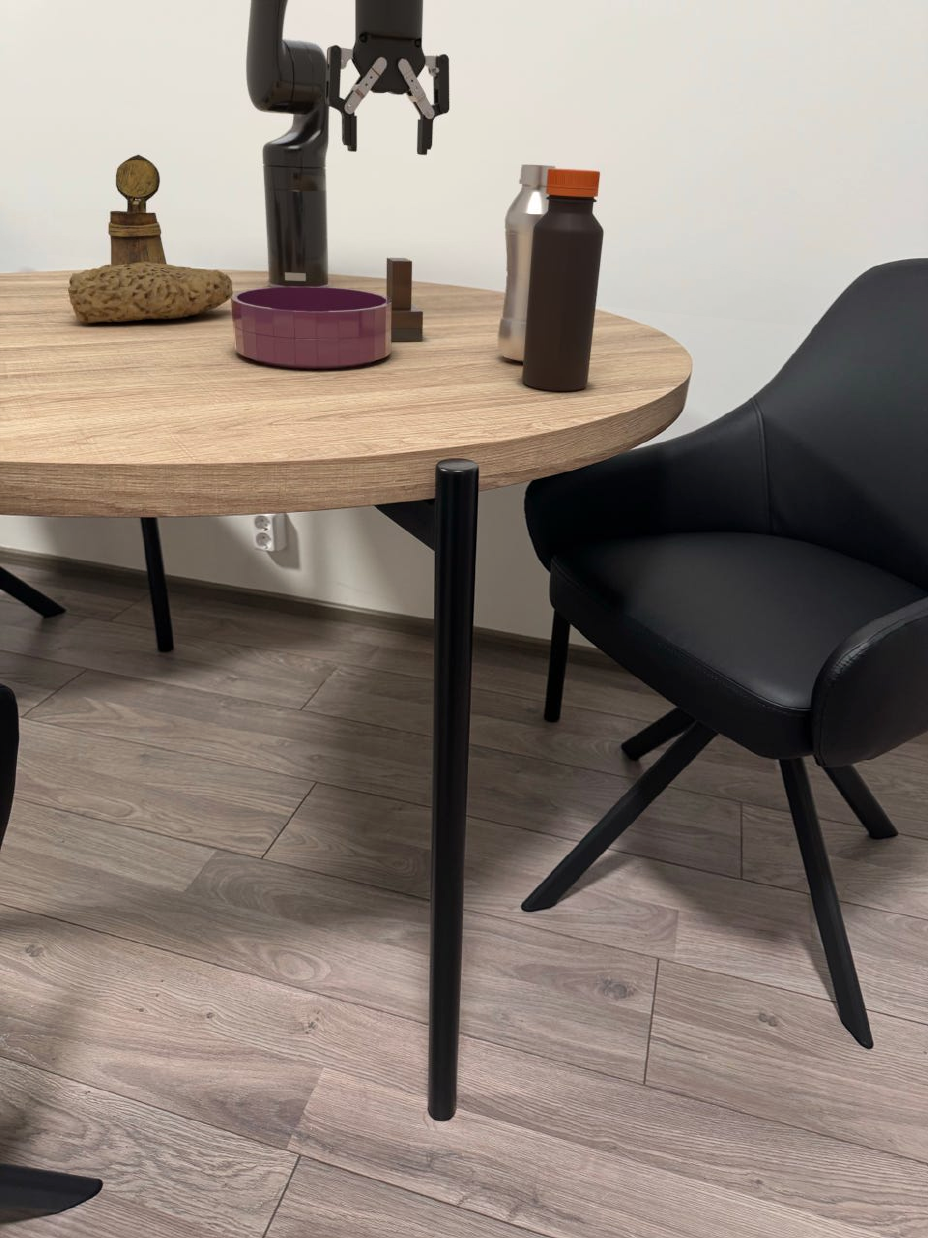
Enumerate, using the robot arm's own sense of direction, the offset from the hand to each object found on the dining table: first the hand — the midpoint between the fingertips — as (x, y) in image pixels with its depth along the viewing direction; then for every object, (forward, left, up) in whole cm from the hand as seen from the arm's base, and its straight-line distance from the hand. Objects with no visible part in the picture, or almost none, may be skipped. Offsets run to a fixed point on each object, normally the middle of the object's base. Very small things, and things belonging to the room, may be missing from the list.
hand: (387, 152), depth 108 cm
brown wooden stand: (-28, -29, -20) cm, 45 cm away
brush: (+5, 0, -20) cm, 21 cm away
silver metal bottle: (+20, +11, -20) cm, 31 cm away
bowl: (+14, -12, -20) cm, 27 cm away
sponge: (-9, -28, -20) cm, 36 cm away
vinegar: (+31, +10, -20) cm, 39 cm away
